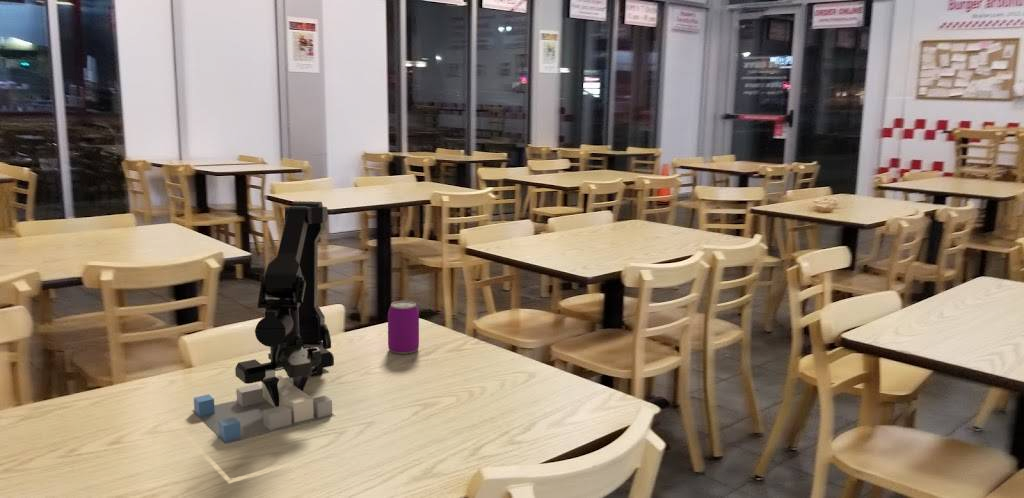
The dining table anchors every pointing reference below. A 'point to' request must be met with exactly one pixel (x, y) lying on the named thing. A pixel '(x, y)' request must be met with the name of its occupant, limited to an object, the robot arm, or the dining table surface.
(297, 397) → the long white plank
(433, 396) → the dining table surface
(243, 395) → the miniature block city
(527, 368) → the dining table surface
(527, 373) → the dining table surface
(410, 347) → the beverage can
